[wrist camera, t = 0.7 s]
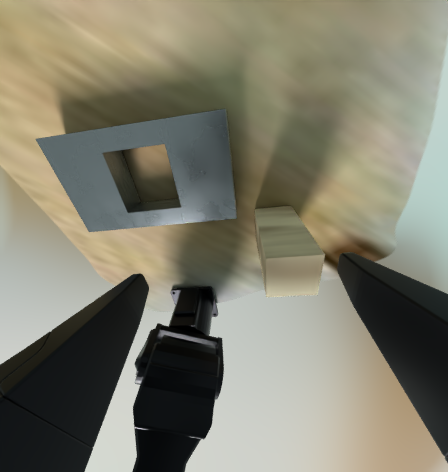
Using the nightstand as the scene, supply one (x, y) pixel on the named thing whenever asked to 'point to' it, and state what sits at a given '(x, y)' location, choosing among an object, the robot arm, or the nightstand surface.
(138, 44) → the nightstand surface
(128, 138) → the grey slotted block
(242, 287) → the nightstand surface
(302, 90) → the nightstand surface
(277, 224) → the ash peg
